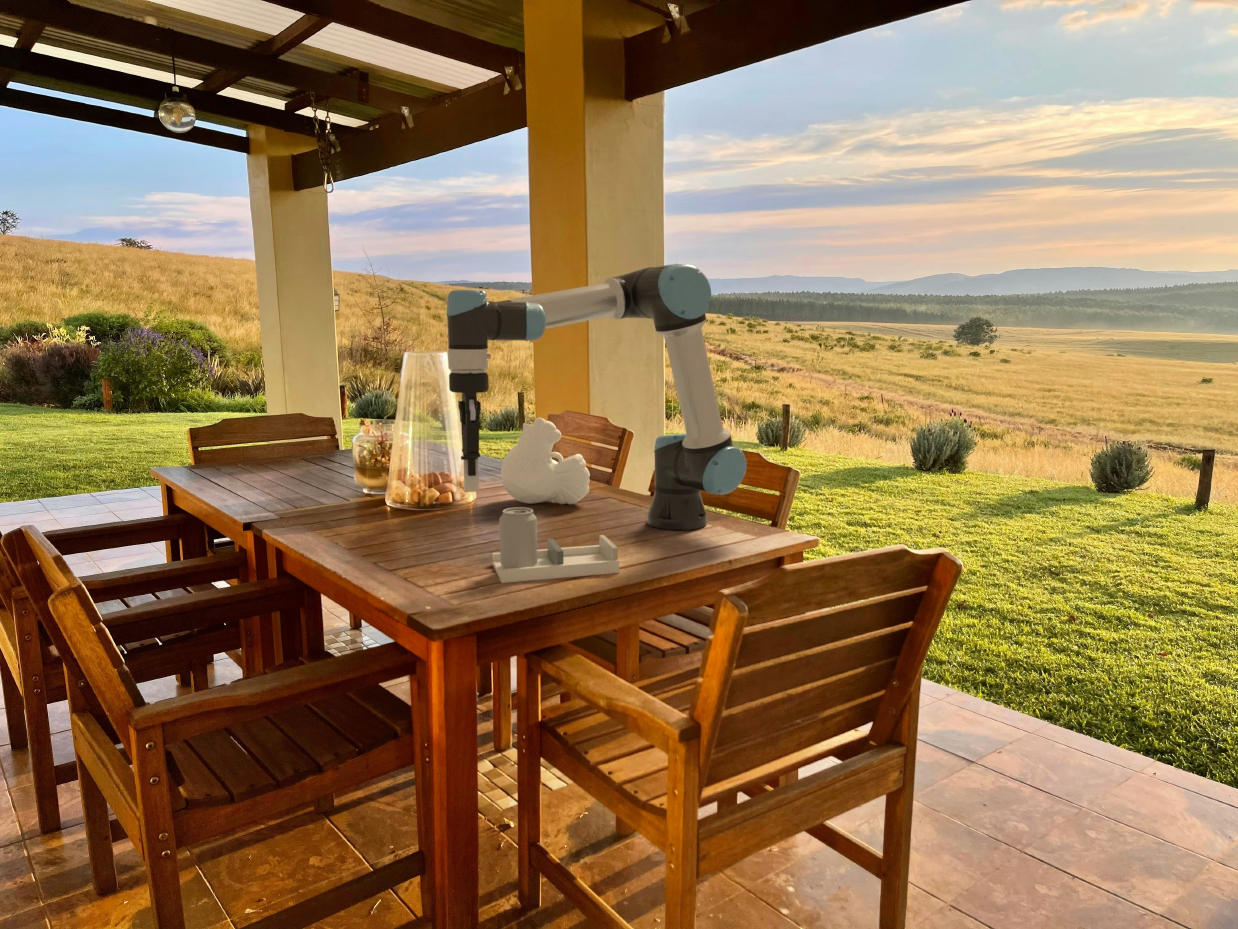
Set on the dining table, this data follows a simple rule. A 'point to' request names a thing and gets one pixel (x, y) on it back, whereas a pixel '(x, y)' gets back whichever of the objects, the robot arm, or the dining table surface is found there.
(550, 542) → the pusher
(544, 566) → the tray
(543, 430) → the decorative rooster
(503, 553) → the can
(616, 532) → the dining table surface
